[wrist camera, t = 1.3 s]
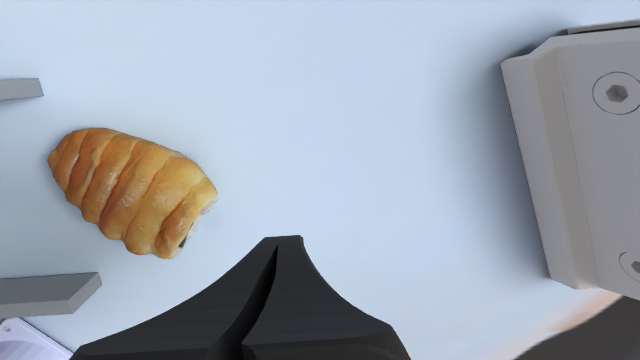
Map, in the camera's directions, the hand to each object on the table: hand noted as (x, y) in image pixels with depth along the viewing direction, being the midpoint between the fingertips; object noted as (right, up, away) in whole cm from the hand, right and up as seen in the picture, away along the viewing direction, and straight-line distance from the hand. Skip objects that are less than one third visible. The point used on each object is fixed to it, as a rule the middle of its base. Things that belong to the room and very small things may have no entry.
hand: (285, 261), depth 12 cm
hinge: (+18, +4, +10) cm, 22 cm away
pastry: (-10, +2, +10) cm, 15 cm away
